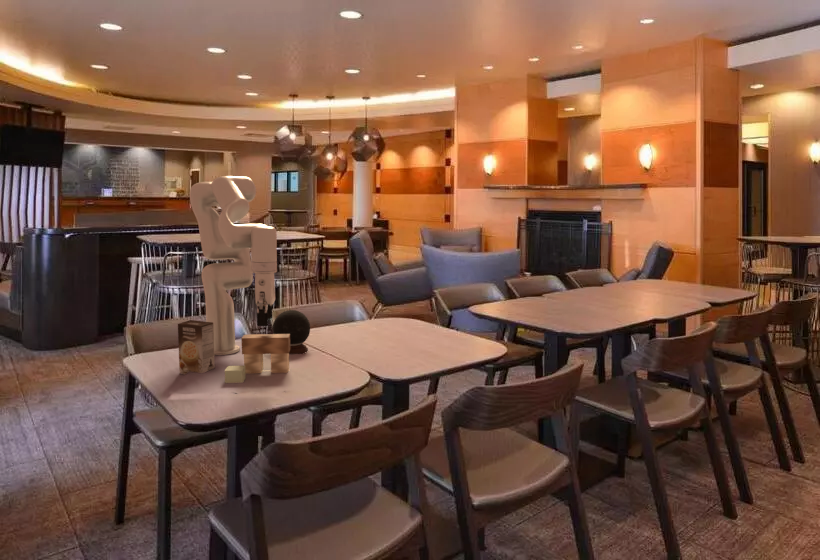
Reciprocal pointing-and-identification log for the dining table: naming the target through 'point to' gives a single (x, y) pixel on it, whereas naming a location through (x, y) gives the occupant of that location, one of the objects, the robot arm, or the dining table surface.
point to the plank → (266, 344)
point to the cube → (235, 374)
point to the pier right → (279, 363)
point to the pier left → (253, 363)
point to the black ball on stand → (293, 329)
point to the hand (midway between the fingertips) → (264, 322)
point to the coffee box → (196, 346)
